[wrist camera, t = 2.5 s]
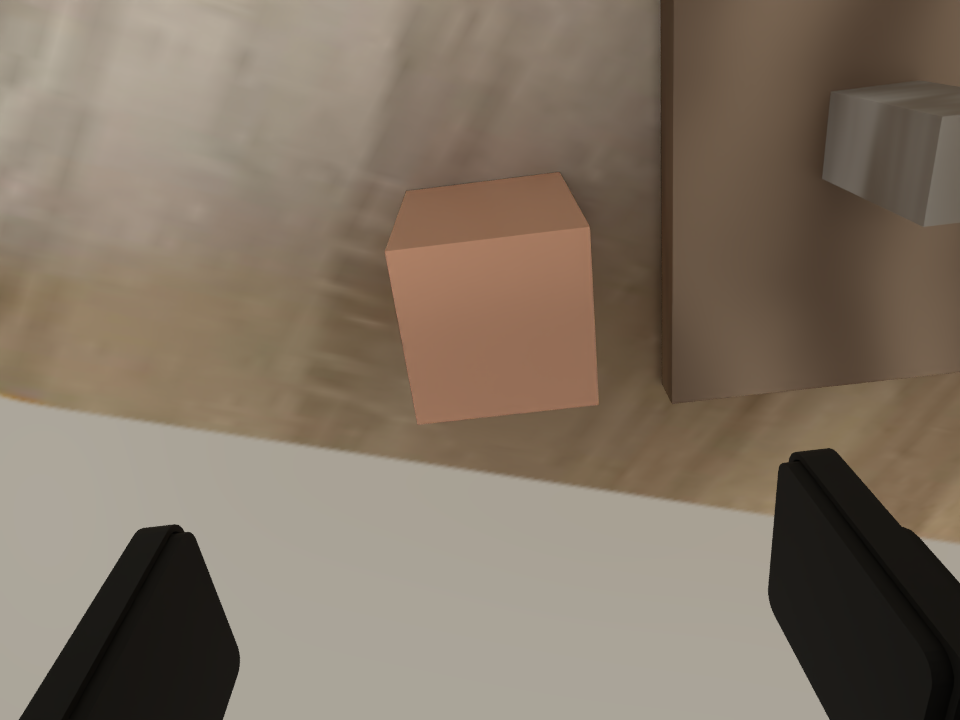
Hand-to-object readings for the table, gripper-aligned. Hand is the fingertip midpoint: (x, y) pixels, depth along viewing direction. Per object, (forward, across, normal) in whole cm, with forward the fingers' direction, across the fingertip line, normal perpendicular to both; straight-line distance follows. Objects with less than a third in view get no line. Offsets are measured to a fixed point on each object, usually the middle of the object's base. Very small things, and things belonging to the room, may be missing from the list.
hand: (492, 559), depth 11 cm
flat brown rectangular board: (+15, -13, -3) cm, 20 cm away
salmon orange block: (+15, -1, 0) cm, 15 cm away
